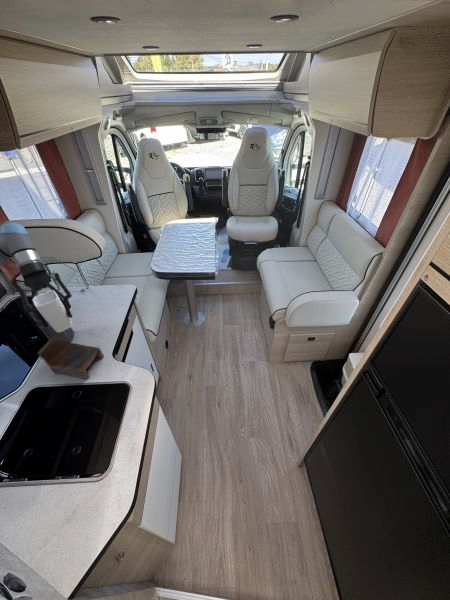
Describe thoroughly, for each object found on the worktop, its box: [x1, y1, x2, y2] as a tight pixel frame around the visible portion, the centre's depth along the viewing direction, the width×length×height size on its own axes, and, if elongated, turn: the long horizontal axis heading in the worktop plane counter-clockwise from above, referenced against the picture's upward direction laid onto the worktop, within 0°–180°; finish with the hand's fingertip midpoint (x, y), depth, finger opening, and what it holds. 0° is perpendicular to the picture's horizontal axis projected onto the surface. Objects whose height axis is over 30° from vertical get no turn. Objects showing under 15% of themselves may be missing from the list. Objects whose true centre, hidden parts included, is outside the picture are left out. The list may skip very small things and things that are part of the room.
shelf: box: [37, 332, 105, 381], centre depth 105 cm, size 16×12×14 cm
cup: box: [31, 289, 73, 333], centre depth 93 cm, size 7×7×15 cm
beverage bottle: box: [28, 291, 75, 343], centre depth 113 cm, size 10×13×25 cm
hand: (59, 321), depth 92 cm, fingers closed on cup, 8 cm apart
